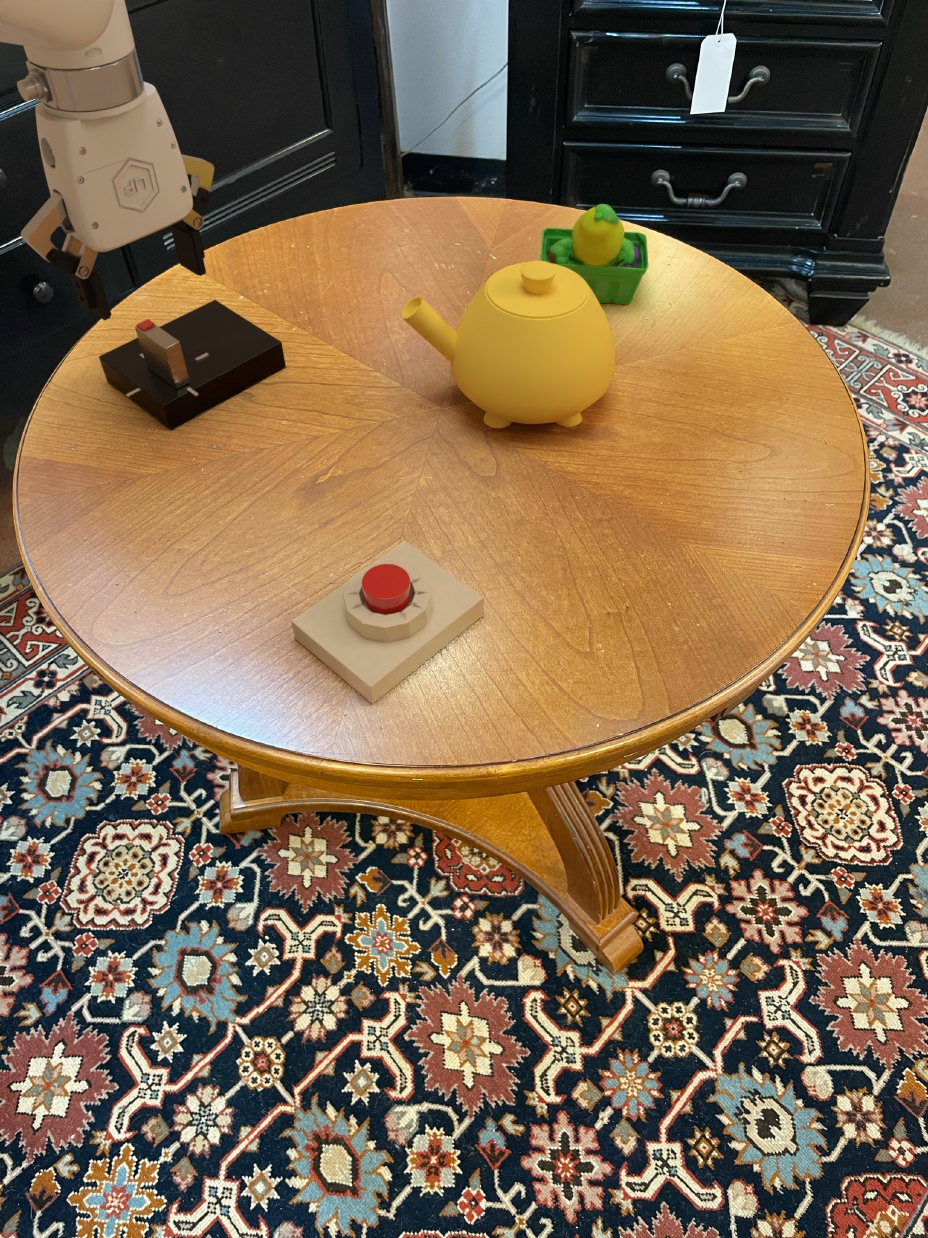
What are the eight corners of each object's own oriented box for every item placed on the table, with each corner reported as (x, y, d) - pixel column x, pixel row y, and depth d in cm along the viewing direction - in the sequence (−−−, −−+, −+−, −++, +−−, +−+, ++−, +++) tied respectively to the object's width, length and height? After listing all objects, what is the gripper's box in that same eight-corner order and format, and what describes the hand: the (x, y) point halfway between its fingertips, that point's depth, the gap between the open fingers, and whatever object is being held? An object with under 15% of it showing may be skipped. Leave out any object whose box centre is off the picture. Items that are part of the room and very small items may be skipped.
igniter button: (386, 622, 71) (384, 607, 69) (353, 597, 72) (351, 581, 71) (420, 596, 72) (420, 580, 71) (388, 571, 74) (387, 556, 73)
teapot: (405, 450, 89) (396, 320, 78) (406, 352, 99) (399, 224, 88) (619, 446, 89) (640, 316, 78) (599, 348, 99) (615, 221, 88)
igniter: (372, 704, 70) (368, 672, 67) (294, 638, 74) (287, 605, 71) (484, 615, 76) (484, 581, 73) (405, 557, 80) (403, 523, 77)
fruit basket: (640, 274, 108) (655, 174, 99) (642, 318, 103) (659, 217, 94) (539, 269, 109) (545, 170, 100) (536, 313, 103) (542, 212, 94)
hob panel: (163, 443, 89) (155, 416, 87) (93, 388, 95) (83, 361, 92) (293, 371, 96) (288, 344, 94) (220, 324, 102) (214, 297, 99)
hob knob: (190, 382, 90) (179, 338, 87) (176, 389, 90) (164, 346, 86) (160, 360, 93) (148, 316, 89) (146, 367, 92) (133, 323, 88)
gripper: (7, 129, 64) (83, 349, 77) (216, 59, 72) (253, 268, 85) (-48, 97, 67) (35, 314, 81) (158, 33, 76) (202, 239, 89)
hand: (147, 290), depth 83 cm, fingers open, 9 cm apart
